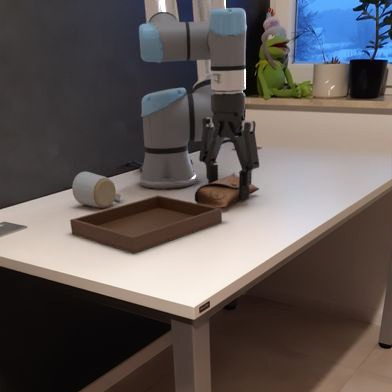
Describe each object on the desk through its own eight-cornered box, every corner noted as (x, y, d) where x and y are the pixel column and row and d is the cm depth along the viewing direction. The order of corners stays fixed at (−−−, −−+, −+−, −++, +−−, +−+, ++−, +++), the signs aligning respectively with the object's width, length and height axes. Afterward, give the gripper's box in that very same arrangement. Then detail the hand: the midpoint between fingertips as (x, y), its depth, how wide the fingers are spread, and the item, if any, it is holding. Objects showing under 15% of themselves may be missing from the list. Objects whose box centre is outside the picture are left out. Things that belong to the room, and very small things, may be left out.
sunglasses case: (226, 206, 120) (212, 178, 118) (203, 218, 124) (190, 192, 123) (261, 188, 133) (249, 163, 132) (239, 200, 138) (228, 175, 136)
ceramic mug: (97, 211, 125) (93, 177, 121) (73, 207, 130) (69, 174, 126) (129, 202, 132) (126, 170, 129) (106, 198, 137) (102, 167, 133)
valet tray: (72, 234, 111) (69, 219, 110) (158, 208, 126) (158, 195, 125) (134, 253, 99) (132, 237, 98) (221, 222, 114) (221, 208, 113)
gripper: (180, 91, 121) (185, 192, 133) (256, 96, 108) (254, 207, 120) (203, 88, 126) (205, 186, 137) (278, 92, 113) (274, 199, 124)
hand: (228, 196), depth 129 cm, fingers closed on sunglasses case, 9 cm apart
